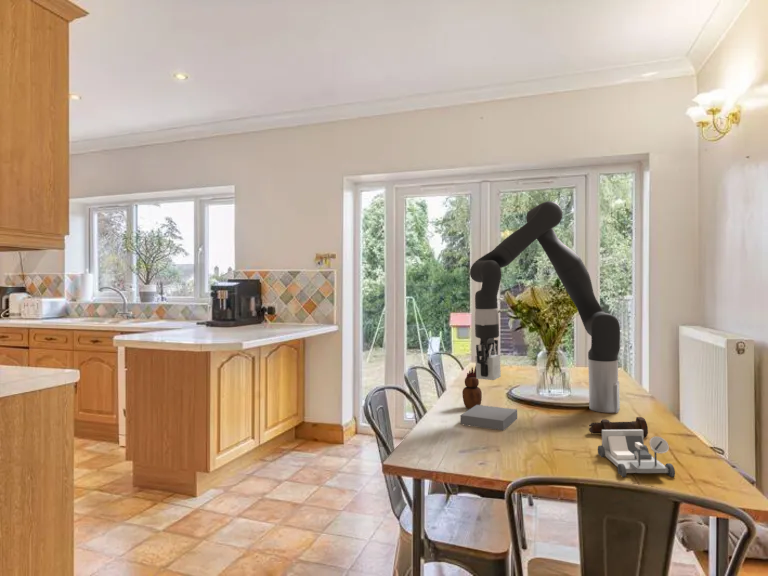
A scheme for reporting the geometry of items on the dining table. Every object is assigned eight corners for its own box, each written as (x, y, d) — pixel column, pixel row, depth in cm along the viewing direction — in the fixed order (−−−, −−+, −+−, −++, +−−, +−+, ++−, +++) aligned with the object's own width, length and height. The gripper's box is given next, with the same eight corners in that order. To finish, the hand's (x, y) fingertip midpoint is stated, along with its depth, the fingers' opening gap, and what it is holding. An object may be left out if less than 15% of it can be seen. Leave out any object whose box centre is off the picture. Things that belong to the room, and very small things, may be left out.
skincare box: (501, 377, 158) (500, 354, 158) (493, 380, 153) (492, 357, 153) (483, 375, 161) (483, 353, 161) (475, 378, 157) (474, 356, 156)
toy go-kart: (680, 440, 108) (627, 440, 108) (681, 484, 108) (627, 484, 109) (642, 417, 126) (596, 417, 126) (643, 455, 126) (597, 455, 127)
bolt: (589, 440, 143) (644, 439, 140) (593, 436, 138) (649, 435, 136) (586, 420, 145) (639, 419, 143) (589, 416, 141) (644, 414, 139)
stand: (517, 418, 160) (517, 409, 160) (503, 430, 148) (503, 420, 148) (476, 413, 167) (476, 404, 167) (460, 424, 155) (460, 415, 155)
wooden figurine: (481, 405, 177) (480, 364, 177) (482, 410, 171) (481, 367, 171) (462, 405, 177) (461, 364, 177) (463, 410, 172) (462, 367, 171)
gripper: (483, 320, 165) (485, 369, 165) (467, 324, 153) (468, 377, 153) (505, 320, 161) (506, 371, 161) (490, 325, 149) (491, 379, 149)
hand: (488, 374), depth 157 cm, fingers closed on skincare box, 6 cm apart
